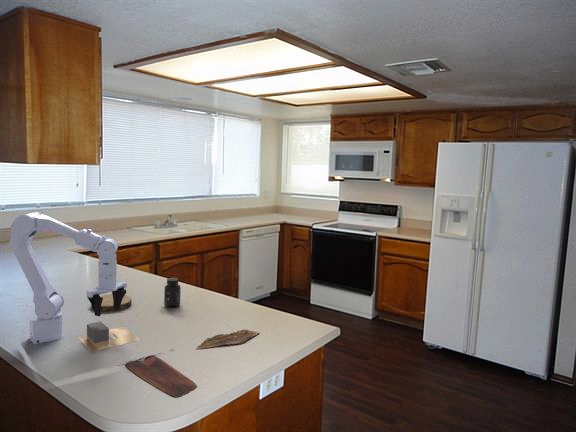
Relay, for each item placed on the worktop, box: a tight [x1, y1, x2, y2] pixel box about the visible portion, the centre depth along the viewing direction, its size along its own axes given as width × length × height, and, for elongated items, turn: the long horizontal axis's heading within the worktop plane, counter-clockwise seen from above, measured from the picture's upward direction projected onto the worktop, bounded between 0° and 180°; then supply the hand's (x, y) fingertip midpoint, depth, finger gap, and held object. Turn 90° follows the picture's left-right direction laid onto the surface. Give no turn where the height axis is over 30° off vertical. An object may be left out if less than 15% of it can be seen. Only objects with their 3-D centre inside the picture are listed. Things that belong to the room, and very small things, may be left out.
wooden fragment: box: [195, 329, 260, 350], centre depth 150 cm, size 26×11×1 cm, turn 126°
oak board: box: [76, 326, 141, 353], centre depth 143 cm, size 16×15×2 cm
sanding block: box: [86, 321, 110, 346], centre depth 140 cm, size 4×8×5 cm, turn 42°
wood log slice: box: [90, 293, 132, 313], centre depth 180 cm, size 16×16×3 cm
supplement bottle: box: [163, 277, 181, 309], centre depth 183 cm, size 7×7×12 cm
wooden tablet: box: [125, 354, 198, 398], centre depth 122 cm, size 26×2×10 cm
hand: (107, 312), depth 145 cm, fingers open, 7 cm apart
